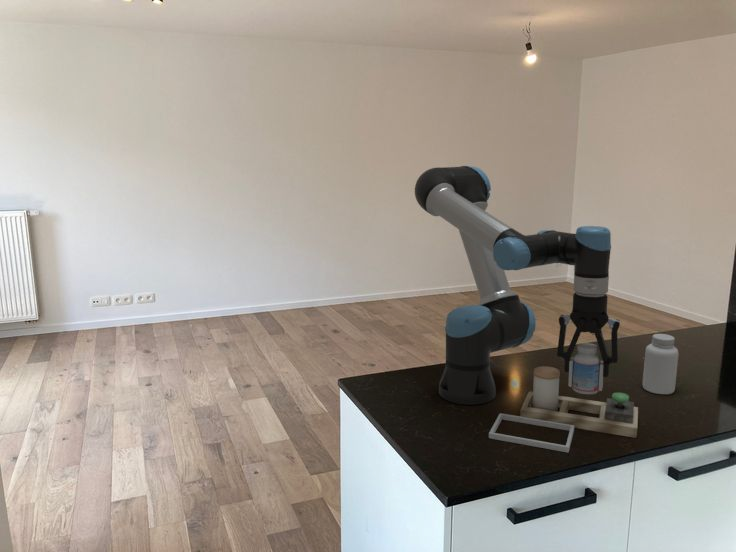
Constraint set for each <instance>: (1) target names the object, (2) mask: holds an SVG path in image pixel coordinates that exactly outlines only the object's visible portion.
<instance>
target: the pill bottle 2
mask: <svg viewBox="0 0 736 552" xmlns="http://www.w3.org/2000/svg"><path fill="white" fill-rule="evenodd" d="M651 337H652V338H651V343H650V344H648V345H647V346H646V347H645V354H644V364H643V375H642V387H643V389H644V390H646V391H647V392H649V393H652V394H657V395H671V394H673V393H674V392H675V390H676V383H677V382H676V381H677V372H678V362H679V350H678V348H677V347H676V346H675V339H676V338H675V337H674V336H673V335H670V334H666V333H654V334H653V335H652V336H651Z"/></svg>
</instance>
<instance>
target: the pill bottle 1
mask: <svg viewBox="0 0 736 552" xmlns="http://www.w3.org/2000/svg"><path fill="white" fill-rule="evenodd" d="M598 350H599V346H598V344H594V343H589V342H581V343H580V342H579V343H578V344H576V353H575V354H574V355H573V357H572V358H573V377H572V387H571V388H572V390H573V391H574V392H575V393H577V394H580V395H581V394H582V395H596V394H597V393H598V392H600V391H599V373H600V362H601V357H600V356H599V355H598V352H599V351H598Z"/></svg>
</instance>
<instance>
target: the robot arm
mask: <svg viewBox="0 0 736 552" xmlns="http://www.w3.org/2000/svg"><path fill="white" fill-rule="evenodd" d="M491 189H492V188H491V182H490V180H489V177H488V175H487V174H486V173H485V172H484V170H482V169H481V168H479V167H476V166H469V165H461V166H451V167H450V166H448V167H447V166H446V167H440V166H439V167H433V168H429V169H426V170H425V171H424V172H423V173H421V175H420V176H419V177H417V180H416V183H415V185H414V197H415V200H416V201H417V204H418V205H419V206H420V208H422V209H423V210H424V211H425V212H427V213H428V214H430V215H431V216H433V217H440V218H441V219H443V220H444V221H446V222H447V223H448V224H450V225H451V226H454V228H455V229H458V232H459V235H460V237H461V240H462V241H461V242H462V244H463V248H464V250H465V254H466V257H467V259H468V263H469V266H470V269H471V273H472V275H473V278H474V281H475V285H476V288H477V292H478V295H479V298H480V301H479V302H478V304H477V305H476V304H471V305H462V306H459V307H456V308H454V309H452V310H451V311H449V312H448V313H447V315H446V320H445V327H444V331H445V367H444V370H443V373H442V375H441V378H440V381H439V383H438V394H439V396H440V397H441V398H442V399H444V400H446V401H448V402H450V403H453V404H458V405H467V406H473V405H475V406H476V405H483V404H486V403H489V402H491V401H492V400H494V399H495V398H496V396H497V395H496V392H497V390H496V384H495V379H494V378H493V374H492V373H493V372H492V371H491V367H490V365H491V364H490V361H491V360H490V359H491V353H495V352H499V351H503V350H507V349H511V348H517V347H519V346H521V345H524V344H526V343H528V342H529V341H530V340H531V339H532V337H533V335H534V333H535V331H536V323H537V322H536V317H535V316H536V315H535V313H534V311H533V309H532V308H531V307H530V306H529V305H528V304H527V303H525V302H522V301H521V300H520V296H519V294H518V293H516V292H514V291H513V290H511V286H510V284H509V280H508V278H507V275H506V271H519V270H524V269H528V268H534V267H539V266H541V267H542V266H547V265H552V264H564V265H569V266H574V267H573V270H574V274H573V291H574V293H573V294H572V309H571V310H572V311H571V312H570V314H568V315H567V314H566V315H564V314H560V315H559V316H558V324H559V336H558V342H557V351H556V356H557V357H560V358H563V360H564V368H563V369H564V372H565V373H568V387H570V388H572V377H573V358H574V357H572V354H573V352H574V349H575V347H576V346H577V343H578V340H579V338H580V335H581V333H590V334H594V335H595V336H594V337H595V339H596V342H597V346H598V350H599V351H600V356H601V359H602V360H600V373H599V391H598V392H602V391H603V386H604V378H608V377H609V374H610V373H609V372H610V365H611V364H616V363H618V359H619V346H618V339H619V338H618V337H619V335H618V330H619V328H620V326H621V325H620V324H621V321H620V319H617V318H616V319H614V318H610V317H609V315H608V295H607V293H608V292H609V282H610V281H609V279H610V275H609V273H610V271H609V269H610V258H611V251H612V250H611V249H612V241H611V240H612V239H611V235H612V234H611V230H610V229H609V228H608V227H605V226H599V225H598V226H594V225H586V226H585V225H584V226H582V225H581V226H580V227H578V228H577V229H576V231H575V233H572V232H571V233H570V232H564V231H557V230H554V229H552V230H546V229H544V230H539V231H538V232H537V233H536V234H527V235H525V234H523V233H521V232H519V231H518V230H515V229H514V228H512V226H510V225H508V224H507V223H504V222H503V221H502V220H500V219H498V218H497V217H495V216H493V215H492V214H490V212H487V211H486V210H487V209H488V206H489V203H488V200H489V198H490V197H491V193H490V191H491ZM570 321H571V322H572V323H573V324H574V326H575V327H576V329H575V331H574V334H573V336H572V339H571V340H570V343H569V346H568V348H567V350H566V351H565V350H564V349H565V343H566V342H565V341H566V334H567V325H569V323H570ZM607 323H608V327H609V329H610V330H611V332H610V333H611V356H609V353H608V348H607V346H606V342H605V338H604V335H603V331H602V328H604V327H605V326H606V324H607Z"/></svg>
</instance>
